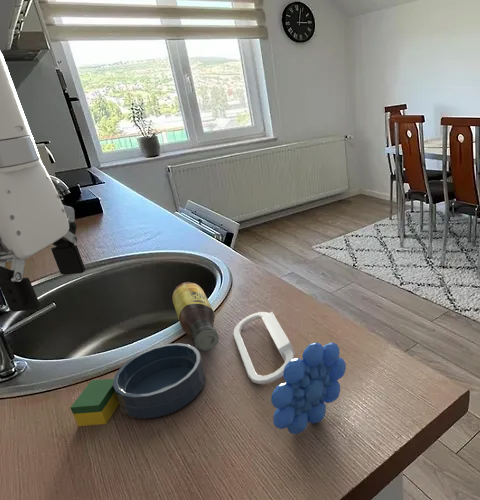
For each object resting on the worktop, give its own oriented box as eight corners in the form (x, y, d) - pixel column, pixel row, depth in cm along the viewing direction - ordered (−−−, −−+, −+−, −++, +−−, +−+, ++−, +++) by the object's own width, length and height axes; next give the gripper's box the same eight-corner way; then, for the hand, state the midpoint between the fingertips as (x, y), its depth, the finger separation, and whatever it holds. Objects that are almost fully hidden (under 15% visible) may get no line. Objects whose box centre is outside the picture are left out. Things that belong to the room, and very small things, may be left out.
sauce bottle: (208, 292, 89) (235, 339, 73) (185, 312, 88) (208, 364, 72) (187, 273, 85) (210, 318, 69) (162, 294, 84) (181, 345, 68)
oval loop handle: (234, 334, 80) (225, 319, 78) (272, 313, 82) (264, 299, 80) (259, 400, 63) (248, 383, 61) (306, 372, 65) (297, 354, 63)
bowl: (106, 425, 58) (96, 400, 57) (142, 368, 70) (135, 346, 68) (192, 417, 59) (185, 392, 57) (215, 362, 70) (209, 340, 68)
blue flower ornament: (329, 384, 63) (321, 317, 58) (359, 408, 58) (352, 336, 53) (261, 427, 56) (246, 354, 51) (288, 458, 51) (274, 380, 46)
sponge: (78, 426, 59) (69, 407, 57) (98, 398, 64) (91, 380, 63) (106, 424, 59) (98, 405, 57) (124, 395, 64) (118, 377, 63)
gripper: (18, 146, 55) (62, 264, 61) (-112, 176, 39) (-32, 330, 45) (74, 142, 55) (113, 259, 61) (-31, 169, 39) (36, 324, 45)
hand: (51, 289), depth 53 cm, fingers open, 9 cm apart
